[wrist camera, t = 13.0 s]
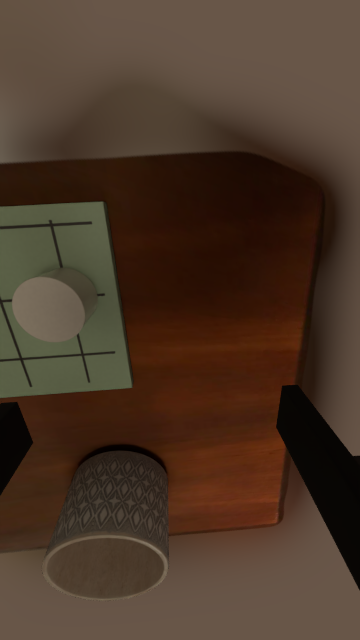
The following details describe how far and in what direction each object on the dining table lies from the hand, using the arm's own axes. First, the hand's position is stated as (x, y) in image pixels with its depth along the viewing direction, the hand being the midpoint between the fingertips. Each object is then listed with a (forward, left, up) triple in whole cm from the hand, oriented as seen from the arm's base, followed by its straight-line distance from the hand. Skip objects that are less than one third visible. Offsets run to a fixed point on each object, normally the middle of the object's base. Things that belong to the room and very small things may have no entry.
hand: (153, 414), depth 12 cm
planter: (+34, +9, -20) cm, 40 cm away
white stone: (+5, -10, -19) cm, 22 cm away
